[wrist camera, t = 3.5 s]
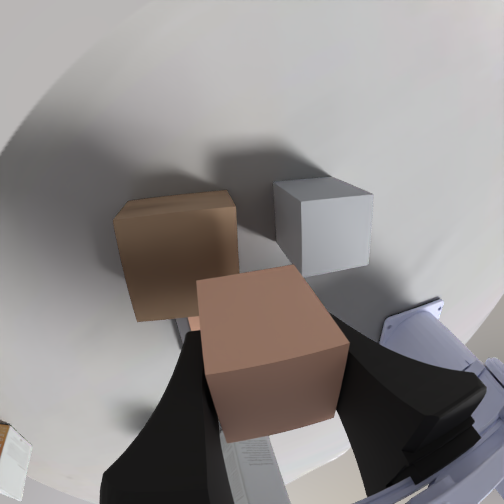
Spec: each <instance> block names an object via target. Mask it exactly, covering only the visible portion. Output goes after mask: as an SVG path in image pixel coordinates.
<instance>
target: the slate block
mask: <svg viewBox="0 0 504 504" xmlns="http://www.w3.org/2000/svg"><path fill="white" fill-rule="evenodd" d="M273 194H274V211H275V228H276V242H277V244H278V245H279V246H280V248H281V249H282V251H283V252H284V253H285V255H286V256H287V258H288V259H289V260H290V262H291V263H292V265H293V264H294V265H295V267H296V268H297V270H298V271H299V272H300V274H301V275H302V276H303V278H305V277H310V276H315V275H320V274H326V273H331V272H336V271H341V270H346V269H350V268H355V267H360V266H365V265H368V264H369V254H370V244H371V231H372V217H373V197H374V194H372V193H369V192H367V191H365V190H362V189H360V188H358V187H356V186H353V185H351V184H348V183H346V182H344V181H341V180H339V179H336V178H334V177H320V178H308V179H297V180H286V181H276V182H273Z"/></svg>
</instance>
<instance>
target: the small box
mask: <svg viewBox="0 0 504 504" xmlns="http://www.w3.org/2000/svg"><path fill="white" fill-rule="evenodd" d="M32 448H33V446H32V445H31V444H30V443H29V442H28V441H26V440H25V439H24V438H23V437H22V436H21V435H20V434H19V433H18V432H17V431H16V430H15V429H14V428H13V427H11V426H10V425H3V424H0V494H3V495H6V496H8V497H11V498H14V499H16V500H18V501H21V502H22V497H23V491H24V485H25V479H26V474H27V469H28V465H29V460H30V456H31V452H32Z"/></svg>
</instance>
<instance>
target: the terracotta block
mask: <svg viewBox="0 0 504 504" xmlns="http://www.w3.org/2000/svg"><path fill="white" fill-rule="evenodd" d="M196 284H197V297H198V309H199V320H200V331H201V341H202V351H203V360H204V369H205V376H206V379H207V383H208V386H209V389H210V393H211V396H212V399H213V402H214V406H215V409H216V412H217V415H218V418H219V421H220V424H221V427H222V430H223V433H224V436H225V439H226V442H227V443H233V442H238V441H244V440H249V439H254V438H259V437H264V436H269V435H273V434H277V433H281V432H286V431H289V430H293V429H297V428H301V427H304V426H308V425H311V424H315V423H318V422H321V421H325V420H328V419H331V418H334V414H335V410H336V406H337V402H338V398H339V394H340V389H341V385H342V380H343V376H344V371H345V366H346V361H347V355H348V350H349V344H350V342H349V341H348V339H347V338H346V337H345V335H344V334H343V332H342V331H341V330H340V328H339V327H338V325H337V324H336V322H335V321H334V320H333V318H332V317H331V315H330V314H329V313H328V311H327V310H326V308H325V307H324V306H323V304H322V303H321V301H320V300H319V299H318V297H317V296H316V294H315V293H314V292H313V290H312V289H311V287H310V286H309V285H308V283H307V282H306V281H305V279H304V278H303V276H302V275H301V274H300V272H299V271H298V270H297V268H296V267H295V265H294V264H293V265H287V266H281V267H276V268H270V269H264V270H258V271H252V272H246V273H240V274H234V275H228V276H222V277H216V278H209V279H203V280H197V281H196Z"/></svg>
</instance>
